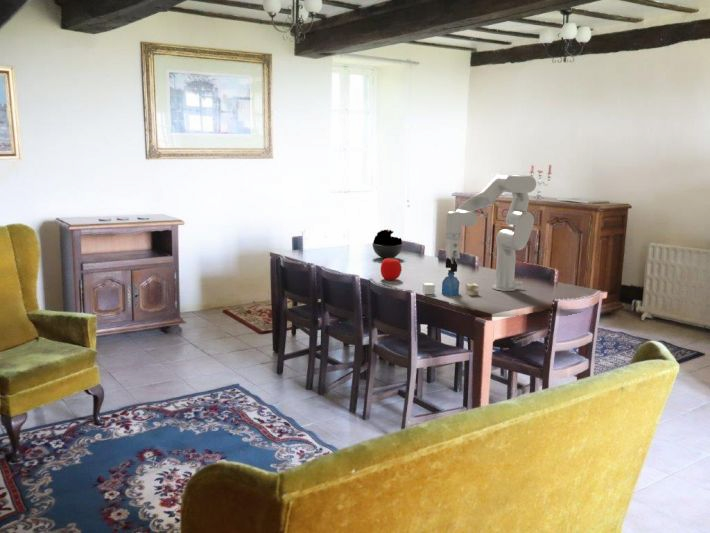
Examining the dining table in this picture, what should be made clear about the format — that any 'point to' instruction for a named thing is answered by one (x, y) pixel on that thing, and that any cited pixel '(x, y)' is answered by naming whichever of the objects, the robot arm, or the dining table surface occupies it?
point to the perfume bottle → (450, 284)
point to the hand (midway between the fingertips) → (451, 269)
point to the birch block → (472, 289)
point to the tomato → (390, 269)
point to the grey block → (428, 288)
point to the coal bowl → (387, 244)
